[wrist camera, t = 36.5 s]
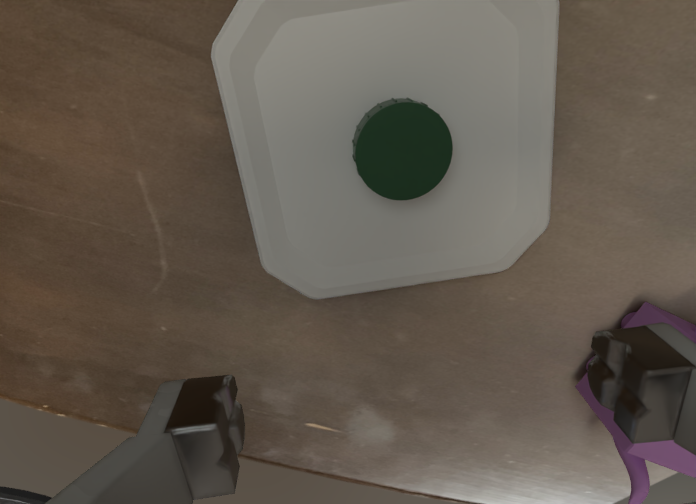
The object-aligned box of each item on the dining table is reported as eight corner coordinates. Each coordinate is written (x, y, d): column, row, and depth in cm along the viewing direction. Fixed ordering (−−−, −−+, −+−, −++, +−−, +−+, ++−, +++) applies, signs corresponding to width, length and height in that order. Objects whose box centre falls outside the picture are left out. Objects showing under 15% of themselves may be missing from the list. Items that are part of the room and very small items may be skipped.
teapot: (631, 447, 45) (710, 546, 36) (522, 406, 42) (577, 503, 33) (770, 300, 39) (906, 375, 30) (653, 239, 36) (765, 303, 27)
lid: (368, 84, 28) (372, 87, 26) (458, 113, 29) (469, 118, 27) (340, 177, 30) (341, 186, 28) (424, 201, 31) (432, 212, 29)
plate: (273, 294, 36) (270, 308, 33) (202, -8, 27) (192, -12, 25) (536, 254, 35) (549, 266, 33) (547, -60, 27) (565, -69, 25)
